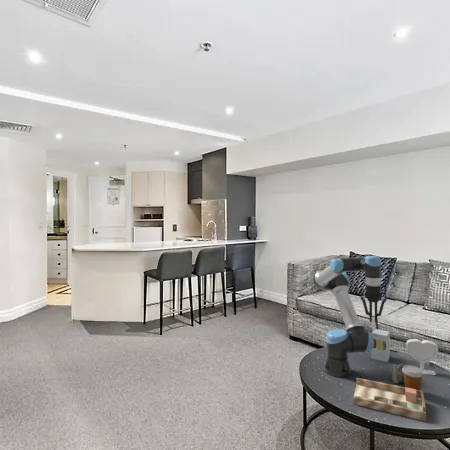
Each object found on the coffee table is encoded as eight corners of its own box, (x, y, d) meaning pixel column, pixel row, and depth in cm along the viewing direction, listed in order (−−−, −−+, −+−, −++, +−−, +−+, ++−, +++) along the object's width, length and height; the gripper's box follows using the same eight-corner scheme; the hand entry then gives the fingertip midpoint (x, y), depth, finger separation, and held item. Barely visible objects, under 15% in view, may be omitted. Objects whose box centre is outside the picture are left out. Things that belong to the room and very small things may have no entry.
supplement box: (371, 358, 202) (370, 332, 202) (373, 353, 210) (373, 328, 209) (387, 362, 197) (387, 335, 196) (390, 357, 204) (389, 331, 204)
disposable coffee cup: (423, 399, 157) (423, 375, 157) (401, 394, 162) (401, 370, 162) (423, 390, 165) (423, 367, 165) (402, 385, 170) (402, 363, 170)
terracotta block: (405, 400, 152) (405, 391, 152) (405, 396, 156) (405, 387, 156) (416, 403, 150) (416, 393, 150) (415, 398, 154) (415, 389, 154)
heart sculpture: (407, 370, 186) (407, 340, 185) (406, 367, 190) (406, 337, 190) (438, 375, 179) (438, 344, 179) (437, 371, 184) (436, 340, 184)
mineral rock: (415, 378, 177) (415, 361, 177) (419, 388, 167) (419, 369, 167) (389, 374, 182) (389, 357, 182) (391, 384, 172) (391, 365, 172)
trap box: (353, 403, 155) (353, 392, 155) (356, 387, 169) (356, 377, 169) (425, 421, 141) (425, 409, 141) (423, 402, 155) (422, 391, 155)
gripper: (359, 285, 171) (359, 328, 172) (386, 287, 165) (386, 332, 166) (360, 282, 178) (361, 324, 179) (386, 284, 172) (387, 327, 173)
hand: (373, 328), depth 172 cm, fingers closed
